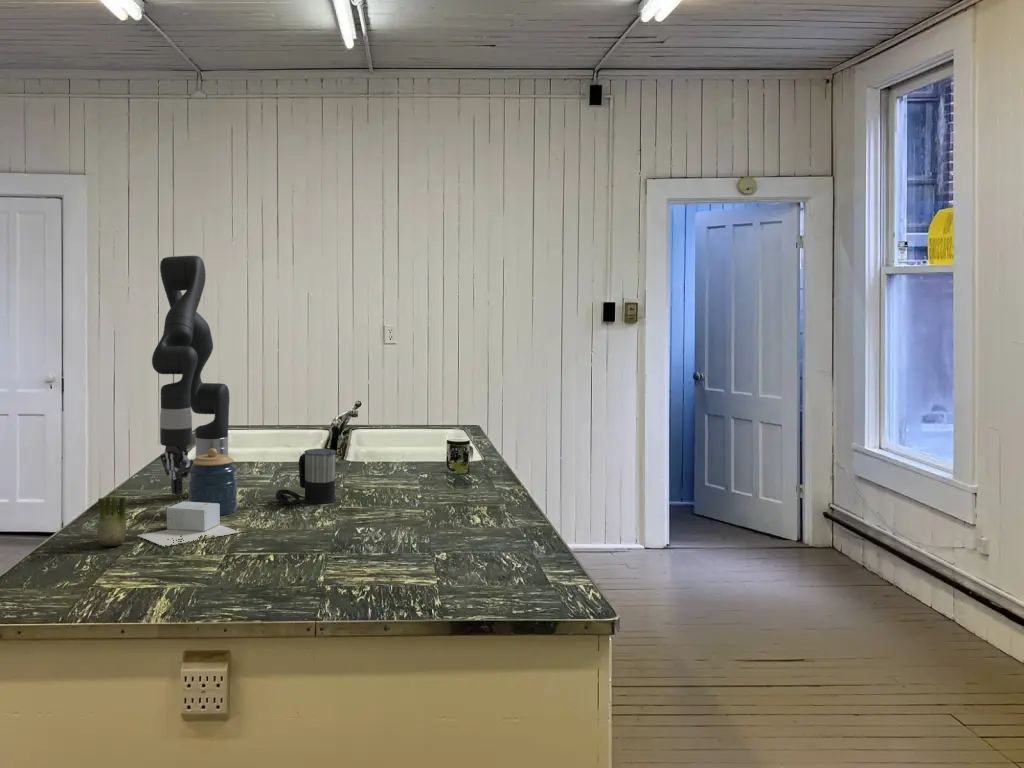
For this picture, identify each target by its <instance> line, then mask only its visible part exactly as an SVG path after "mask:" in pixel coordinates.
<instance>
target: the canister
mask: <svg viewBox="0 0 1024 768" xmlns="http://www.w3.org/2000/svg"><path fill="white" fill-rule="evenodd" d="M192 460H193V465H192V467H191V469H190V472H189V474H188V475H189V479H188V481H187V484H188V492H187V493H188V502H201V503H219V504H220V516H224V515H228V514H229V515H230V514H232V513H235V512H236V511H237V507H238V500H237V492H238V491H237V489H238V488H237V483H238V479H237V478H236V471H237V470H238V468H237V466H235V465H234V464H233V463H234V459H233V458H232V457H230V456H229V454H228V455H224V454H217V450H216V449H215V448H210V449H209V450H208V452H207V454H206V455H200V456H197V457H196V456H195V458H192Z"/></svg>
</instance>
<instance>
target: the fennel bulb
mask: <svg viewBox="0 0 1024 768" xmlns="http://www.w3.org/2000/svg"><path fill="white" fill-rule="evenodd" d="M97 501H98V509H99V510H98V513H99V514H98V515H99V517H98V521H97V522H98V523H97V530H96V531H97V533H96V535H97V536H96V537H97V541H98V543H99V545H100V546H103V547H106V548H108V547H109V548H111V547H118V546H121V545H122V544H123V543H124V542H125V539H126V534H127V518H126V496H120V497H119V503H118V496H117V495H116V496H105V497H100V498H99V497H98V499H97Z"/></svg>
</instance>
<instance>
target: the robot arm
mask: <svg viewBox="0 0 1024 768" xmlns="http://www.w3.org/2000/svg"><path fill="white" fill-rule="evenodd" d="M159 265H160V266H159V271H160V277H161V281H162V285H163V288H164V291H165V294H166V297H167V301H168V304H169V307H170V309H169V310H168V312H167V314H166V316H165V319H164V327H163V332H162V333H163V334H162V335H161V338H160V340H159V342H158V343H157V345H156V347H155V348H154V352H153V354H152V357H151V365H152V368H153V370H154V371H155V372H156V373H157V374H160V375H182V376H181V378H180V380H178V381H176V382H172V383H166V384H164V385H163V386H161V388H160V413H159V439H160V440H159V441H160V445H162V446H164V447H165V449H164V452H165V453H163V454H160V456H159V457H160V460H161V463H162V466H163V468H164V472H165V475H166V476H169V479H170V480H171V481H170V482H171V493H172V495H182V494H183V479H185V478H188V476H189V475H190V474H189V472H190V469H191V467H192V465H193V458H191V459H189V457H188V456H189V452H188V445H189V446H190V445H191V444H192V443H193V424H192V423H193V419H192V418H193V415H192V412H193V413H195V414H196V415H197V414H198V415H214V419H213V420H212V421H211V422H208V423H206V424H203V425H200V426H198V427H196V429H195V432H194V433H195V458H196V457H197V456H200V455H206V454H207V452H208V450H209V449H210V448H215V449H216V450H217V454H224V455H228V456H229V417H230V413H229V412H230V390H229V387H228V386H227V384H225V383H220V382H219V383H214V382H213V383H211V382H202V377H201V376H202V375H201V374H202V371H203V370H204V367H205V365H206V364H207V362H208V360H209V358H210V357H211V355H212V353H213V350H214V342H213V337H212V333H211V328H210V326H209V324H208V321H206V320H205V319H204V317H202V316H201V314H199V312H197V310H198V307H199V304H200V302H201V298H202V295H203V291H204V288H205V284H206V275H207V274H206V266H205V263H204V261H203V259H202V257H200V256H198V255H181V256H180V255H177V256H167V257H164V258H162V259H161V261H160V264H159ZM182 291H185V292H184V293H182ZM191 410H192V411H191Z"/></svg>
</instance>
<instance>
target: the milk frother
mask: <svg viewBox="0 0 1024 768" xmlns="http://www.w3.org/2000/svg"><path fill="white" fill-rule="evenodd" d="M336 453H337V451H336V450H335V449H331V448H310V449H306V450H304V451H303V453H302V454H301V455H300V456H299V459H298V474H299V475H298V476H299V477H298V479H299V487H300V489H304V496H303V495H300V494H298V493H296V492H295V491H292V490H289V489H279V490H277V491H276V493H275V499H276V500H277V501H278V502H280V503H282V505H296V504H298V503H300V500H301V499H300V498H302V499H303V502H305V503H308V504H315V505H317V504H321V505H323V504H330V503H333V502H336V500H337V498H336V494H335V493H336V489H335V487H336V486H335V485H336V484H335V483H336ZM291 497H293V498H294V499H293V500H292V499H291ZM322 503H323V504H322Z"/></svg>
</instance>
